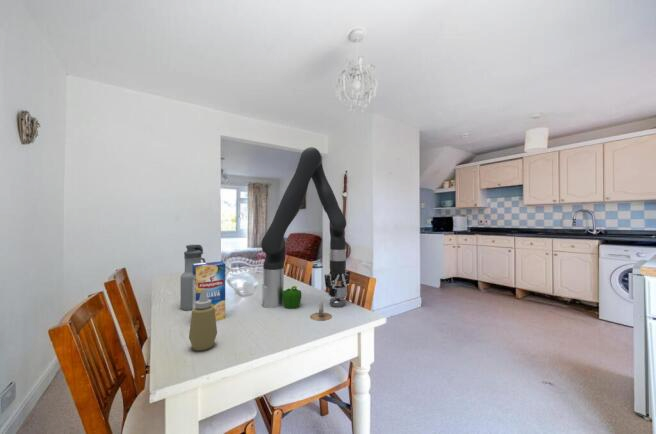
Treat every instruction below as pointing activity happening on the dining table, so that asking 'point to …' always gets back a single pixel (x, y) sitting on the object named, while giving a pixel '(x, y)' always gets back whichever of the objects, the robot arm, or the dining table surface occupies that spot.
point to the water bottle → (189, 274)
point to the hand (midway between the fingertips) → (337, 295)
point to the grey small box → (340, 291)
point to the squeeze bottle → (203, 324)
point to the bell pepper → (291, 298)
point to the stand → (321, 314)
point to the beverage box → (210, 285)
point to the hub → (337, 302)
